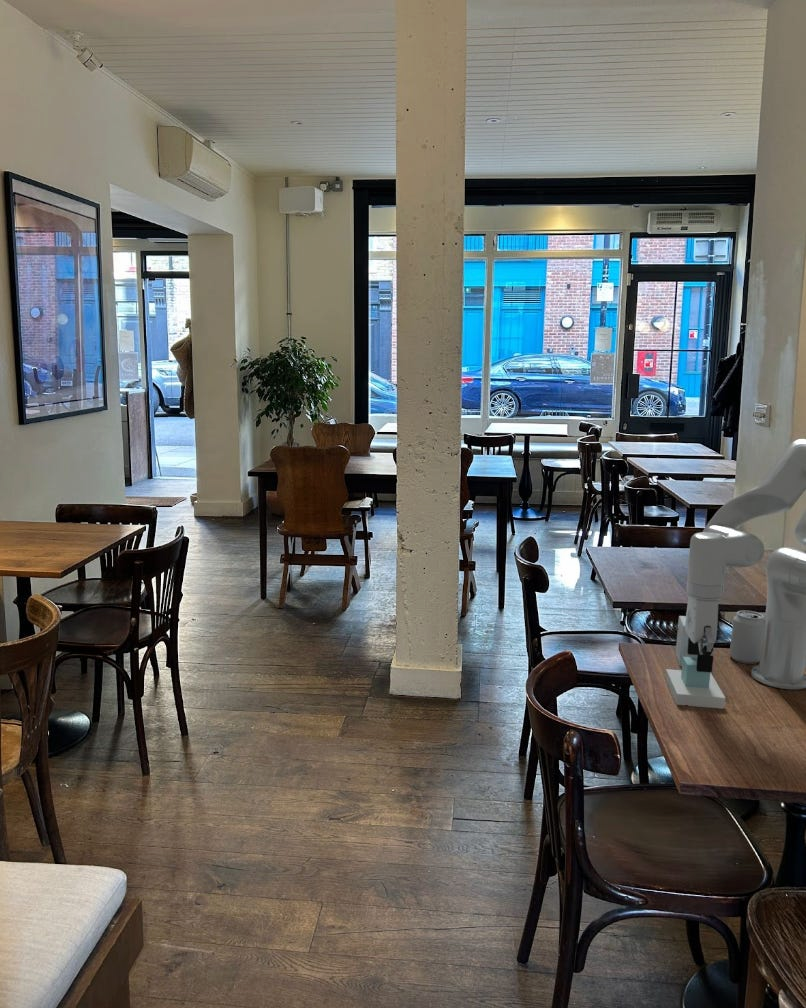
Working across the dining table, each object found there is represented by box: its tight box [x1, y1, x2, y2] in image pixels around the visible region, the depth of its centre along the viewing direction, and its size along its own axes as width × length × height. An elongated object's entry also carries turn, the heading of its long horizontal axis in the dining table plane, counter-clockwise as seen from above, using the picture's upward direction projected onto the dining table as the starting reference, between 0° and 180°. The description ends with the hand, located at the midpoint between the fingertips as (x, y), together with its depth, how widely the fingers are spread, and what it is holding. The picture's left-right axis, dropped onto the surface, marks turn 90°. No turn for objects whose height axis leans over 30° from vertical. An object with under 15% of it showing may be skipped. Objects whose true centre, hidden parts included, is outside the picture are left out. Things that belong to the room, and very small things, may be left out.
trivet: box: [664, 668, 726, 710], centre depth 182 cm, size 14×10×2 cm
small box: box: [675, 615, 706, 667], centre depth 200 cm, size 8×6×10 cm
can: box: [729, 610, 765, 665], centre depth 203 cm, size 8×8×12 cm
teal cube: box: [681, 657, 711, 688], centre depth 182 cm, size 5×5×5 cm
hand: (699, 662), depth 182 cm, fingers open, 9 cm apart
